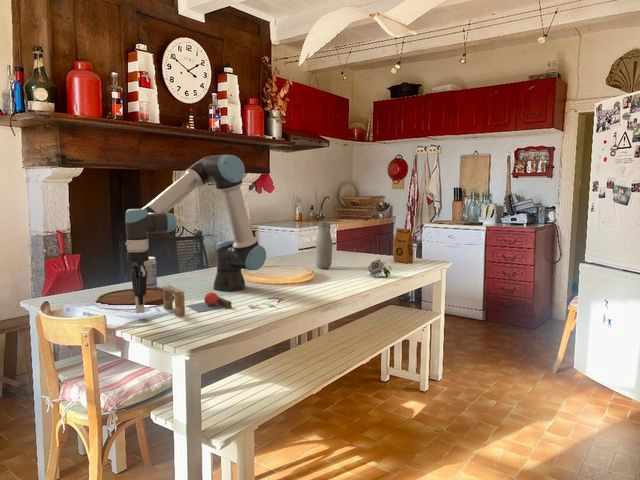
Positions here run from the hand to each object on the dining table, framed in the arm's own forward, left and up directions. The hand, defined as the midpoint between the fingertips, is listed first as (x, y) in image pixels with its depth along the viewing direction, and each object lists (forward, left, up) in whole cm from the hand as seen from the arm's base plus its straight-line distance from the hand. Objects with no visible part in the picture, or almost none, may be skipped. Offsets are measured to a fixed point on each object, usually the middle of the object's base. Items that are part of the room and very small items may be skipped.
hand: (140, 312), depth 183 cm
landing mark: (-27, 0, -2) cm, 27 cm away
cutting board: (-7, -29, -3) cm, 30 cm away
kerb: (-33, 0, -2) cm, 33 cm away
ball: (-29, 0, +1) cm, 29 cm away
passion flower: (-130, -5, -2) cm, 130 cm away
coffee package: (-177, -30, -2) cm, 180 cm away
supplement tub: (-19, -51, -2) cm, 54 cm away
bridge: (-13, 0, -2) cm, 13 cm away
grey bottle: (-121, -42, -2) cm, 128 cm away
